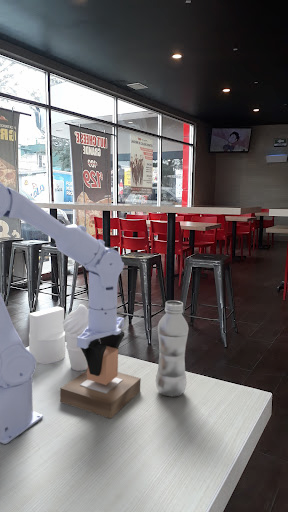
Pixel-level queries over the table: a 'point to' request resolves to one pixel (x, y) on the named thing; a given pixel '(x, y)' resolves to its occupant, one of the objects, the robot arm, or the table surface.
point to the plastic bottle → (172, 350)
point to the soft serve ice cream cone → (73, 329)
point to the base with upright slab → (47, 335)
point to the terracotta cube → (106, 367)
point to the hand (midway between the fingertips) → (101, 369)
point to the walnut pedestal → (100, 394)
